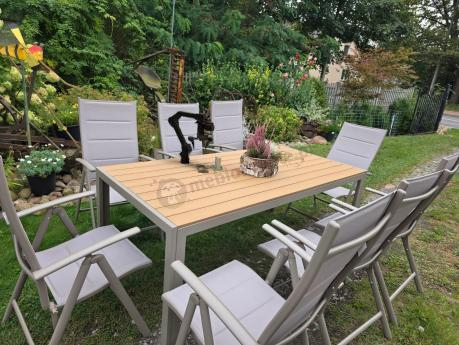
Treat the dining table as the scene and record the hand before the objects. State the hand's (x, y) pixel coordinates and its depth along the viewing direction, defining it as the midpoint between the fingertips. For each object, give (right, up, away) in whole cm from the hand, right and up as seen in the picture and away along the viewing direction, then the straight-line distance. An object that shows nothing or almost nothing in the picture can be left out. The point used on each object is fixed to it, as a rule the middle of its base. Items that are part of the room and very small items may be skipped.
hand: (199, 149), depth 232 cm
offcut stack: (+4, -18, -12) cm, 22 cm away
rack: (+2, -15, -4) cm, 16 cm away
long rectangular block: (+14, -14, 0) cm, 20 cm away
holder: (+14, -15, 0) cm, 20 cm away
